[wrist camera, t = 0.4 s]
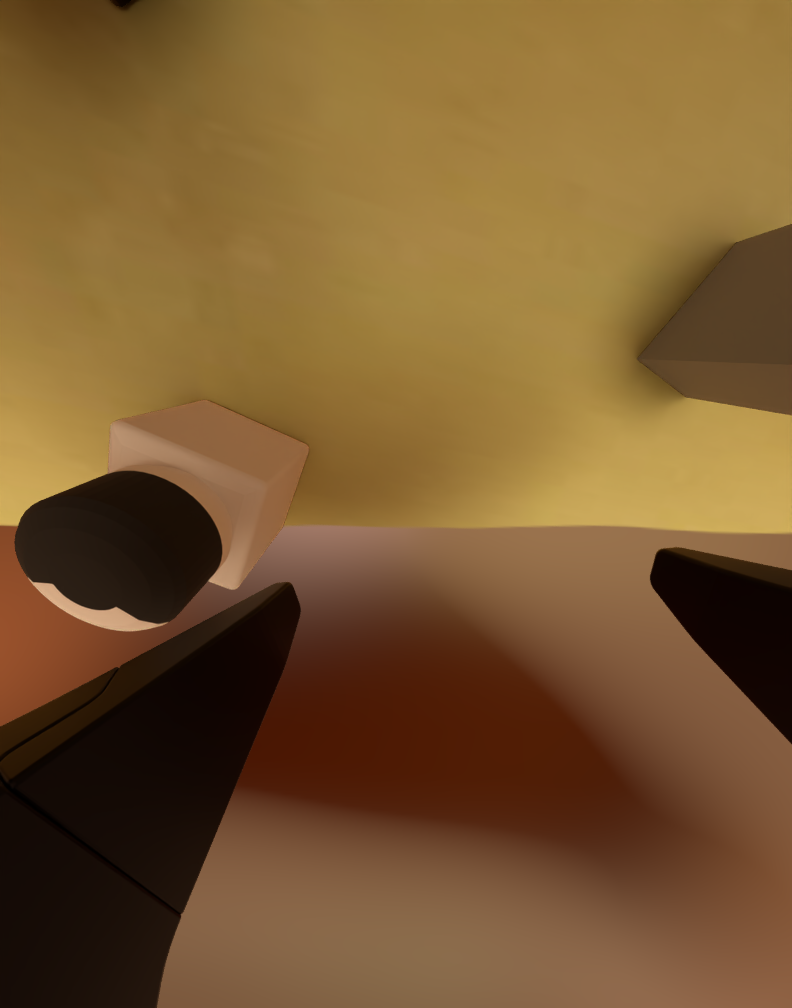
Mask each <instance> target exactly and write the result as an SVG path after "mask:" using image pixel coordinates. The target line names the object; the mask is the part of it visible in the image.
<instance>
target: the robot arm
mask: <svg viewBox="0 0 792 1008" xmlns="http://www.w3.org/2000/svg"><path fill="white" fill-rule="evenodd" d="M110 1H111V2H112V3H113V4H115V5H116V6H119V7H123V6H125V5H126V4H127V3H128V2H130V1H131V0H110ZM650 581H651V585H652V587H653V589H654V590H655V591H656V593H657V594H658V595H659V596H660V598H661V599H662V600H663V602H664V603H665V604H666V605H667V607H668V608H669V609H670V611H671V612H672V613H673V614H674V616H675V617H676V618H677V620H678V621H679V622H680V623H681V625H682V626H683V627H684V629H685V630H686V631H687V632H688V633H689V635H690V636H691V637H692V638H693V640H694V641H695V642H696V643H697V644H698V645H699V646H700V647H701V648H702V649H703V651H704V652H705V653H706V654H707V655H708V656H709V657H710V658H711V659H712V660H713V661H714V662H715V663H716V664H717V665H718V667H720V669H721V670H722V671H723V672H724V673H725V674H726V675H727V676H728V677H729V678H730V679H731V680H732V681H733V682H734V683H735V684H736V686H737V687H738V688H739V689H740V690H741V691H742V692H743V693H744V694H745V695H746V696H747V697H748V698H749V699H750V700H751V702H753V703H754V705H755V706H756V707H757V708H758V709H759V710H760V711H761V712H762V713H763V714H764V715H765V716H766V717H767V718H768V720H769V721H770V722H771V723H772V724H773V725H774V726H775V727H776V728H777V729H778V730H779V731H780V732H781V733H782V734H783V735H784V737H785V738H786V739H787V740H788V741H789V742H790V743H791V744H792V570H787V569H783V568H778V567H772V566H768V565H763V564H758V563H753V562H748V561H744V560H739V559H734V558H729V557H724V556H719V555H714V554H709V553H704V552H700V551H695V550H690V549H685V548H679V547H674V548H663V549H660V550H658V551H657V553H656V555H655V559H654V563H653V567H652V571H651V574H650ZM300 612H301V608H300V604H299V601H298V598H297V595H296V593H295V590H294V587H293V585H292V584H291V583H290V582H282V583H275V584H273V585H271V586H269V587H267V588H265V589H264V590H262V591H260V592H258V593H256V594H254V595H252V596H250V597H248V598H247V599H245V600H243V601H241V602H239V603H237V604H235V605H234V606H231V607H230V608H228V609H226V610H224V611H222V612H220V613H218V614H217V615H215V616H213V617H211V618H209V619H207V620H205V621H203V622H202V623H200V624H198V625H196V626H194V627H192V628H190V629H188V630H187V631H185V632H183V633H181V634H179V635H177V636H175V637H173V638H171V639H170V640H168V641H166V642H164V643H162V644H160V645H158V646H156V647H154V648H153V649H151V650H149V651H147V652H145V653H143V654H141V655H139V656H138V657H136V658H134V659H132V660H130V661H128V662H126V663H125V664H123V665H121V666H120V668H118V667H116V668H114V669H112V670H110V671H108V672H107V673H104V674H103V675H101V676H99V677H97V678H95V679H93V680H91V681H89V682H87V683H85V684H84V685H81V686H79V687H78V688H76V689H74V690H72V691H70V692H68V693H66V694H64V695H62V696H60V697H58V698H56V699H55V700H52V701H50V702H48V703H47V704H45V705H43V706H41V707H39V708H37V709H35V710H33V711H31V712H29V713H27V714H25V715H23V716H21V717H19V718H17V719H15V720H13V721H11V722H9V723H7V724H5V725H3V726H0V1008H157V1004H158V998H159V992H160V987H161V981H162V977H163V972H164V967H165V963H166V960H167V956H168V953H169V949H170V946H171V943H172V940H173V938H174V935H175V932H176V929H177V927H178V924H179V922H180V919H181V914H182V913H183V912H184V910H185V907H186V905H187V902H188V900H189V897H190V895H191V892H192V890H193V888H194V885H195V883H196V881H197V878H198V876H199V873H200V871H201V868H202V866H203V863H204V861H205V859H206V856H207V854H208V852H209V849H210V847H211V844H212V842H213V839H214V837H215V834H216V832H217V830H218V827H219V825H220V823H221V820H222V818H223V815H224V813H225V810H226V808H227V805H228V803H229V801H230V798H231V796H232V794H233V791H234V789H235V786H236V784H237V781H238V779H239V777H240V774H241V772H242V769H243V767H244V764H245V762H246V760H247V757H248V755H249V752H250V750H251V748H252V745H253V743H254V740H255V738H256V735H257V733H258V731H259V728H260V726H261V723H262V721H263V719H264V716H265V714H266V711H267V709H268V707H269V704H270V702H271V699H272V697H273V694H274V692H275V690H276V687H277V685H278V682H279V680H280V678H281V675H282V673H283V670H284V667H285V665H286V662H287V659H288V656H289V652H290V649H291V645H292V642H293V639H294V635H295V632H296V628H297V625H298V621H299V618H300Z"/></svg>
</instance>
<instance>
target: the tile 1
mask: <svg viewBox="0 0 792 1008" xmlns="http://www.w3.org/2000/svg"><path fill="white" fill-rule="evenodd" d="M637 360H639V361H640V362H641V363H643V364H644V365H645V366H646V367H648V368H649V369H650V370H652V371H653V372H654V373H655V374H657V375H658V376H659V377H661V378H662V379H663V380H665V381H666V382H667V383H668V384H670V385H671V386H672V387H674V388H675V389H676V390H677V391H679V392H680V393H681V394H683V395H684V396H685V397H687V398H693V399H699V400H705V401H711V402H717V403H723V404H728V405H734V406H740V407H746V408H752V409H758V410H764V411H769V412H775V413H781V414H787V415H792V224H790V225H787V226H784V227H781V228H778V229H775V230H772V231H769V232H766V233H763V234H760V235H757V236H754V237H751V238H748V239H745V240H742V241H739V242H736V244H735V245H734V246H733V247H732V248H731V249H730V251H729V252H728V253H727V254H726V255H725V256H724V258H723V259H722V260H721V261H720V262H719V264H718V265H717V266H716V267H715V268H714V269H713V271H712V272H711V273H710V274H709V275H708V276H707V278H706V279H705V280H704V281H703V282H702V283H701V285H700V286H699V287H698V288H697V289H696V290H695V292H694V293H693V294H692V295H691V296H690V297H689V299H688V300H687V301H686V302H685V303H684V304H683V306H682V307H681V308H680V309H679V310H678V312H677V313H676V314H675V315H674V316H673V317H672V319H671V320H670V321H669V322H668V323H667V324H666V326H665V327H664V328H663V329H662V330H661V331H660V333H659V334H658V335H657V336H656V337H655V338H654V340H653V341H652V342H651V343H650V344H649V345H648V347H647V348H646V349H645V350H644V351H643V352H642V354H641V355H640V356H639V357H638V358H637Z"/></svg>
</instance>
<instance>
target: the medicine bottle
mask: <svg viewBox="0 0 792 1008" xmlns="http://www.w3.org/2000/svg"><path fill="white" fill-rule="evenodd" d="M308 453H309V447H308V445H307V444H305V443H303V442H300V441H298V440H296V439H294V438H291V437H289V436H287V435H285V434H282V433H280V432H278V431H276V430H273V429H271V428H269V427H267V426H264V425H262V424H260V423H258V422H255V421H253V420H251V419H249V418H247V417H244V416H242V415H240V414H238V413H235V412H233V411H231V410H229V409H226V408H224V407H222V406H220V405H217V404H215V403H213V402H211V401H208V400H201V401H197V402H193V403H188V404H184V405H180V406H175V407H171V408H167V409H163V410H158V411H154V412H150V413H145V414H141V415H137V416H132V417H128V418H124V419H120V420H116V421H114V422H113V423H111V425H110V440H109V460H108V474H106V475H103V476H101V477H98V478H96V479H93V480H91V481H88V482H86V483H83V484H81V485H79V486H76V487H74V488H71V489H69V490H66V491H64V492H61V493H59V494H56V495H54V496H51V497H49V498H46V499H44V500H41V501H39V502H37V503H35V504H34V505H32V506H31V507H30V508H29V509H28V510H26V511H25V513H24V514H23V516H22V517H21V519H20V522H19V525H18V529H17V531H16V535H15V551H16V555H17V558H18V561H19V563H20V565H21V567H22V569H23V571H24V572H25V574H26V576H27V577H28V578H29V580H30V581H31V582H32V584H33V585H34V586H35V587H36V588H37V589H38V590H39V591H40V592H41V593H42V594H43V595H44V596H45V597H46V598H48V599H49V600H50V601H51V602H52V603H54V604H55V605H56V606H58V607H59V608H61V609H63V610H64V611H65V612H67V613H69V614H71V615H72V616H74V617H76V618H78V619H80V620H83V621H85V622H87V623H90V624H93V625H96V626H99V627H103V628H107V629H112V630H119V631H138V630H145V629H150V628H154V627H158V626H162V625H164V624H166V623H168V622H170V621H171V620H172V619H174V618H175V617H176V616H177V615H178V614H179V613H180V612H181V611H182V610H183V608H184V607H185V606H186V605H187V604H188V603H189V602H190V601H191V599H192V598H193V597H194V596H195V595H196V594H197V593H198V592H199V590H200V589H201V588H202V587H203V586H204V585H205V584H206V583H207V581H209V582H211V583H214V584H217V585H220V586H222V587H225V588H228V589H232V590H234V589H236V588H238V587H239V585H240V584H241V583H242V582H243V580H244V579H245V577H246V576H247V575H248V574H249V572H250V571H251V569H252V568H253V567H254V565H255V564H256V563H257V561H258V560H259V559H260V557H261V556H262V555H263V553H264V552H265V551H266V549H267V548H268V547H269V545H270V544H271V543H272V541H273V540H274V538H275V537H276V536H277V534H278V533H279V532H280V530H281V529H282V528H283V525H284V522H285V519H286V516H287V513H288V510H289V508H290V505H291V502H292V499H293V496H294V493H295V490H296V487H297V484H298V482H299V479H300V476H301V473H302V470H303V467H304V464H305V461H306V458H307V455H308Z"/></svg>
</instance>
